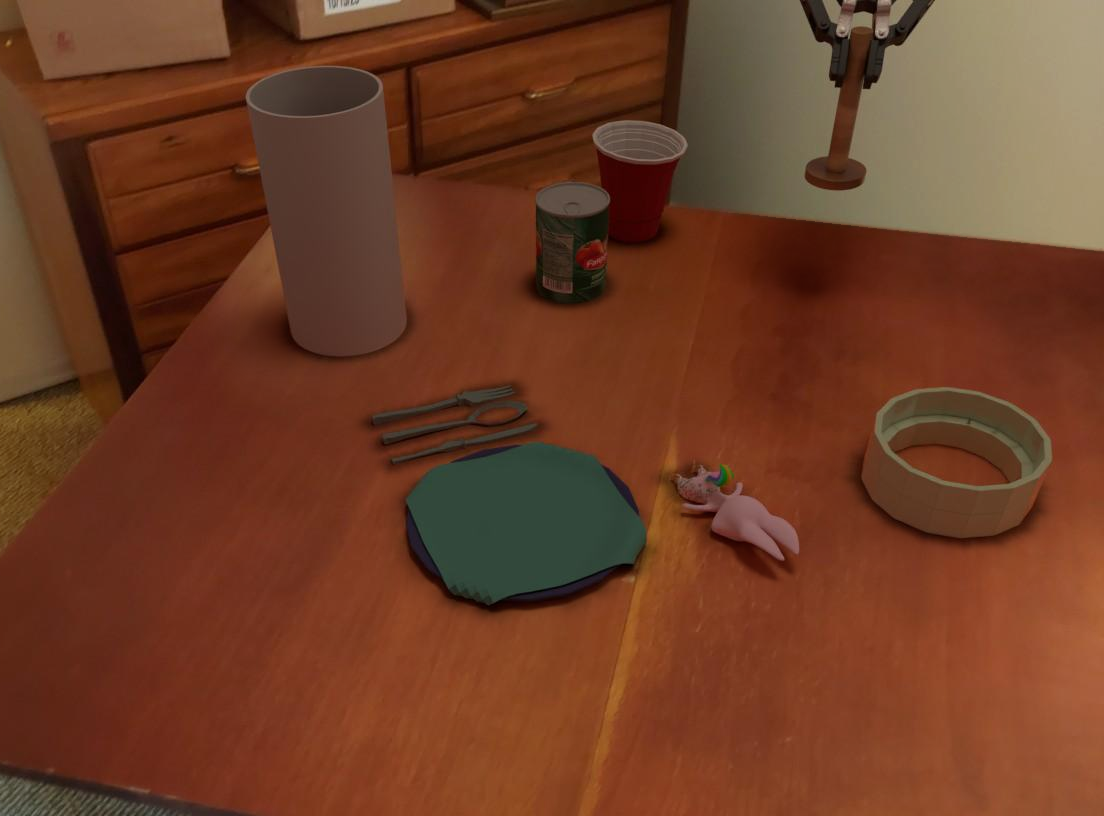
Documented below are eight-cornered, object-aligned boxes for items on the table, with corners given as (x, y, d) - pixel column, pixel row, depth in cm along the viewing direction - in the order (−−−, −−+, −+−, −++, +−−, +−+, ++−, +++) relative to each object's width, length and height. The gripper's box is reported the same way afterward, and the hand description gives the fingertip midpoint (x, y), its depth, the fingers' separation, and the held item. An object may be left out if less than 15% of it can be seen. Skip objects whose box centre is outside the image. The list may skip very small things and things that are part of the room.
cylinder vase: (391, 367, 110) (362, 120, 92) (276, 358, 112) (225, 114, 94) (419, 305, 118) (397, 68, 101) (312, 297, 120) (272, 63, 102)
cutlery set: (450, 643, 83) (448, 623, 81) (352, 429, 103) (348, 410, 101) (679, 576, 87) (681, 556, 86) (542, 384, 107) (542, 364, 105)
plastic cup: (676, 261, 124) (686, 158, 115) (584, 256, 125) (587, 154, 117) (680, 217, 131) (690, 118, 123) (593, 213, 133) (596, 115, 124)
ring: (903, 422, 101) (919, 369, 97) (1053, 482, 94) (1077, 427, 90) (831, 498, 94) (845, 444, 89) (988, 568, 87) (1011, 513, 83)
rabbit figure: (652, 505, 96) (758, 587, 85) (651, 447, 92) (761, 525, 81) (709, 483, 98) (820, 561, 86) (710, 425, 94) (825, 499, 83)
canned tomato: (536, 274, 122) (535, 181, 115) (604, 274, 122) (609, 180, 114) (535, 311, 117) (534, 215, 109) (606, 310, 117) (611, 214, 109)
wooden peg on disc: (822, 160, 112) (848, 15, 102) (875, 175, 109) (907, 26, 99) (793, 180, 109) (817, 32, 99) (846, 196, 106) (877, 45, 96)
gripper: (809, -128, 97) (781, 61, 98) (967, -126, 95) (938, 68, 95) (802, -77, 105) (776, 99, 105) (949, -74, 102) (922, 107, 103)
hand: (853, 84), depth 100 cm, fingers closed on wooden peg on disc
